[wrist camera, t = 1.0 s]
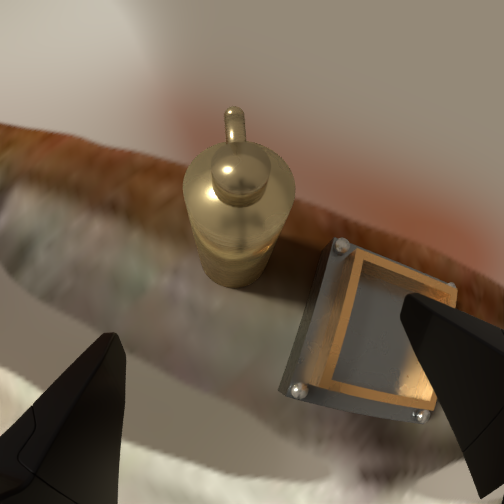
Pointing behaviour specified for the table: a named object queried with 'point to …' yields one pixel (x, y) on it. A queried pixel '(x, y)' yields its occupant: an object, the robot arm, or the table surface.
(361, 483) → the table surface
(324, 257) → the grey square tray
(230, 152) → the spout can
